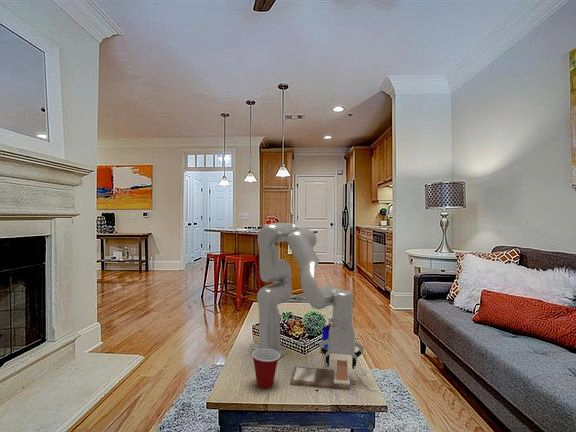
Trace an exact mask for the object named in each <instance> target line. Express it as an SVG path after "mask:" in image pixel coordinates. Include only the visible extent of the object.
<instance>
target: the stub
mask: <svg viewBox="0 0 576 432" xmlns="http://www.w3.org/2000/svg"><path fill="white" fill-rule="evenodd" d="M333 370H334V384H343V385H349V386H351V375H350V373H351V372H350V370H348V360H345V359H336V369H333Z"/></svg>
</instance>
